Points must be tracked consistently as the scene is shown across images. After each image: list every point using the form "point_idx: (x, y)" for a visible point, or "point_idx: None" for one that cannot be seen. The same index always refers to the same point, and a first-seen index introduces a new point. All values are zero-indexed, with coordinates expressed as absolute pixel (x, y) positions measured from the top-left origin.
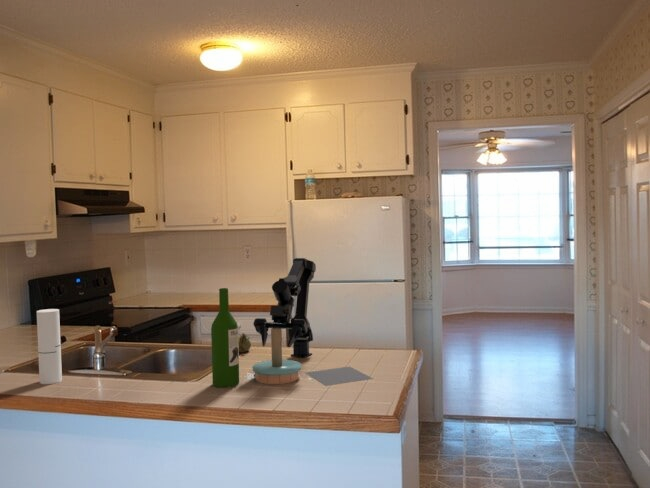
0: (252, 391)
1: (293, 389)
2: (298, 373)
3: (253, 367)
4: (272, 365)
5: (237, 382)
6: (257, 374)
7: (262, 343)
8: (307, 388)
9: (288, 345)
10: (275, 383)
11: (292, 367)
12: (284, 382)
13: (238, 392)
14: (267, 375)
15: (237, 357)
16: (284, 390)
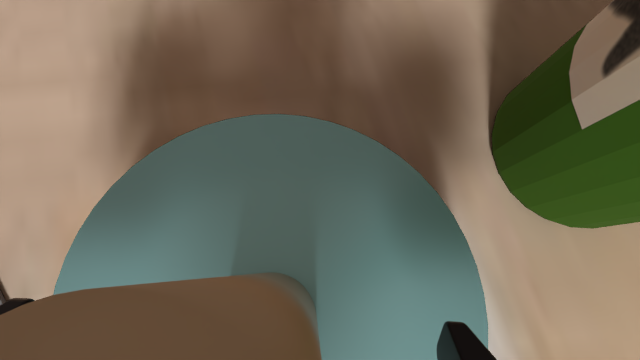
0: (360, 32)
1: (133, 86)
2: None
3: (457, 237)
4: (304, 288)
5: (496, 127)
6: None
7: (476, 338)
8: (50, 112)
9: (17, 299)
10: None
11: (121, 272)
12: None
13: (430, 9)
14: None
15: (613, 47)
16: (183, 64)
